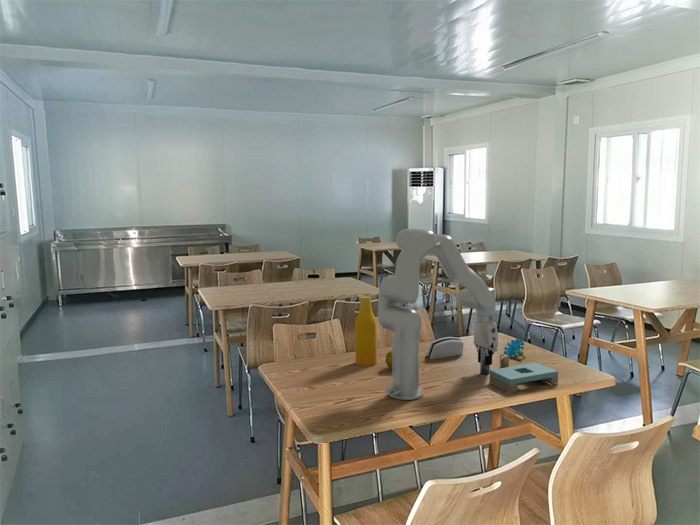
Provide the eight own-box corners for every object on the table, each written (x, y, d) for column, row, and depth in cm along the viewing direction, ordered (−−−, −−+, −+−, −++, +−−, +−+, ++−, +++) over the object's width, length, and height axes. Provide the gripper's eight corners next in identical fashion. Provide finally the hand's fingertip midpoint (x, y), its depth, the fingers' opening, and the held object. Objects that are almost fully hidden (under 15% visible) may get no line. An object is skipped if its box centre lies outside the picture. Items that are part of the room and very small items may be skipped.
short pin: (506, 371, 220) (506, 357, 219) (498, 370, 222) (498, 355, 221) (510, 369, 222) (510, 355, 222) (502, 367, 225) (502, 353, 224)
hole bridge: (510, 392, 196) (510, 379, 195) (489, 382, 207) (489, 370, 206) (557, 384, 204) (558, 371, 204) (535, 374, 215) (535, 362, 215)
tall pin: (486, 375, 216) (487, 345, 214) (478, 373, 218) (478, 344, 217) (491, 373, 218) (491, 344, 217) (482, 371, 221) (483, 342, 219)
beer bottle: (375, 367, 229) (375, 299, 226) (354, 366, 231) (352, 298, 227) (378, 360, 238) (377, 295, 235) (357, 360, 240) (356, 295, 236)
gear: (498, 350, 245) (514, 334, 245) (506, 358, 247) (521, 342, 247) (512, 360, 235) (528, 343, 235) (519, 368, 237) (535, 352, 237)
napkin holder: (456, 351, 250) (460, 333, 245) (462, 357, 246) (466, 339, 242) (424, 356, 243) (428, 337, 239) (430, 362, 239) (434, 343, 235)
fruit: (402, 364, 232) (402, 346, 231) (412, 370, 223) (412, 351, 223) (382, 367, 228) (382, 348, 228) (391, 373, 220) (391, 354, 219)
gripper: (507, 321, 210) (506, 367, 212) (479, 313, 225) (479, 357, 227) (491, 323, 207) (490, 370, 209) (464, 315, 222) (464, 359, 224)
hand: (484, 363), depth 218 cm, fingers closed on tall pin, 3 cm apart
